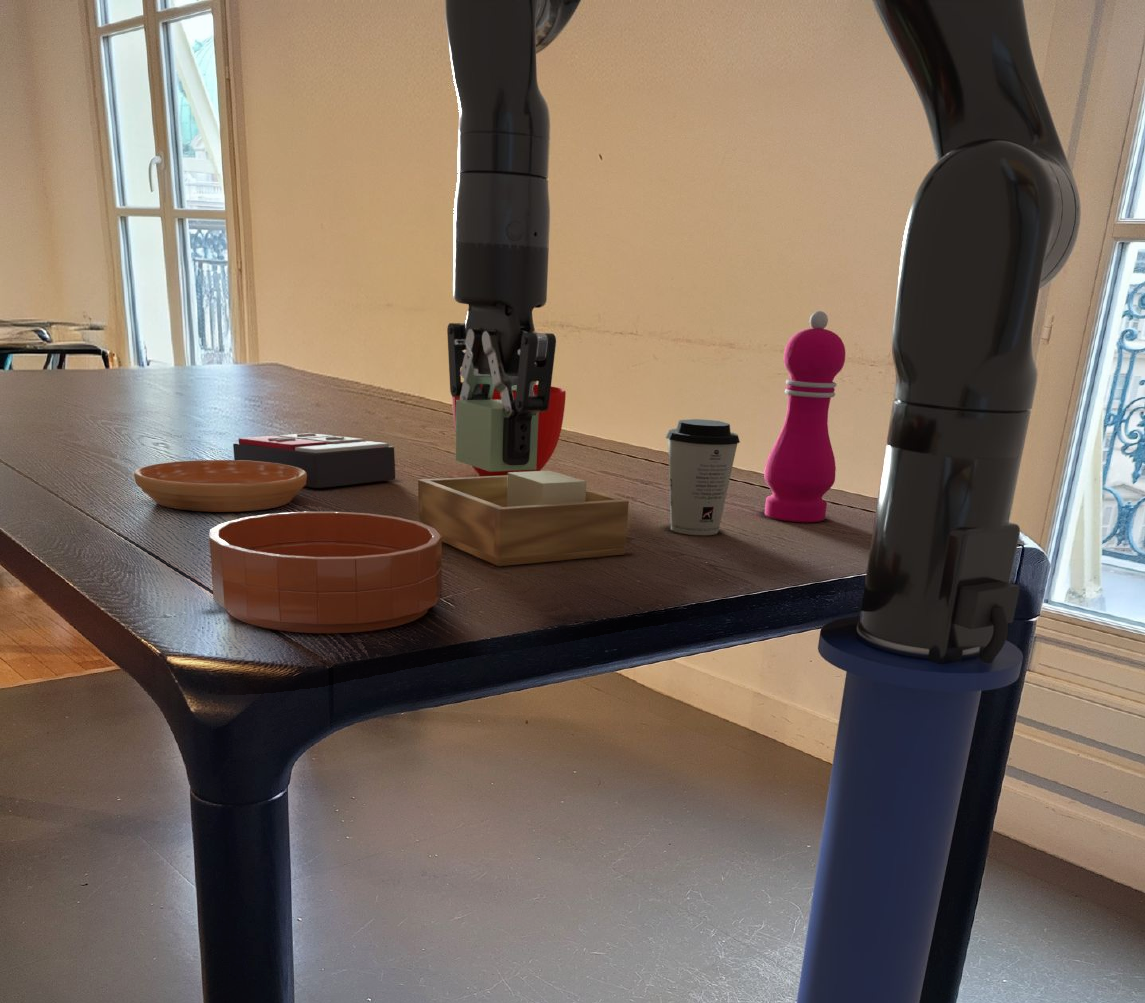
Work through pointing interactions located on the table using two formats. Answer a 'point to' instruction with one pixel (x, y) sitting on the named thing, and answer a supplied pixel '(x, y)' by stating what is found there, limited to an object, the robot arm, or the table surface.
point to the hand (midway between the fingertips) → (495, 457)
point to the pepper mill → (805, 426)
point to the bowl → (325, 570)
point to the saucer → (221, 484)
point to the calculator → (323, 457)
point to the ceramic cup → (547, 428)
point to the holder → (520, 522)
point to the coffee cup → (699, 474)
